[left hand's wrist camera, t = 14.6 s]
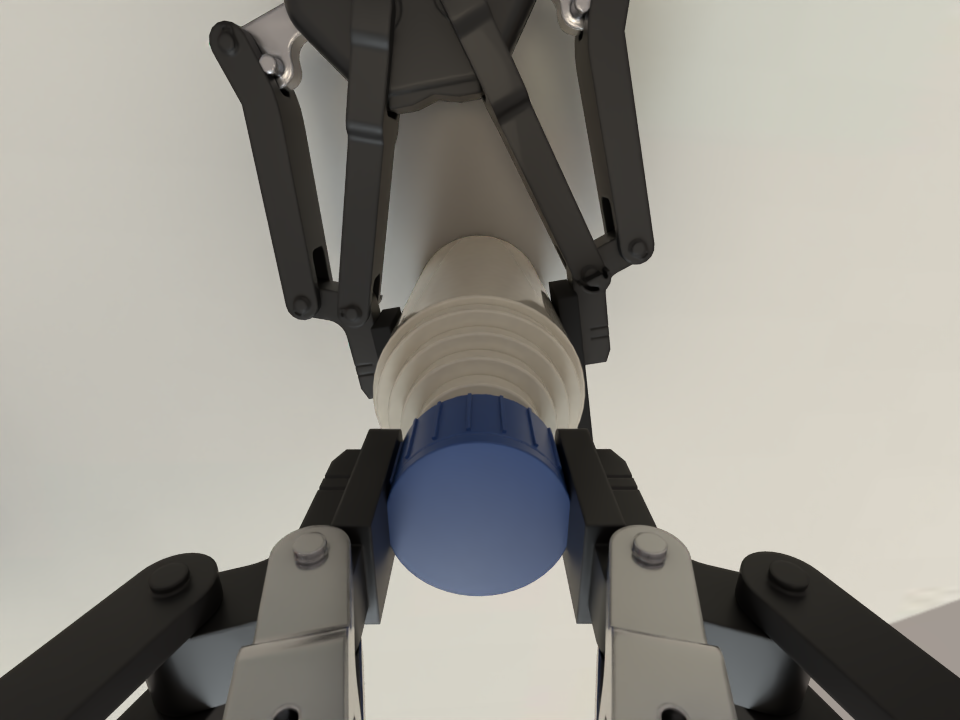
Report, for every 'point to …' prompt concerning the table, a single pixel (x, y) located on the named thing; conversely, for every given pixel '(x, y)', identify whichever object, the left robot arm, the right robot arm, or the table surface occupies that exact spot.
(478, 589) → the cap
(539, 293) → the bottle
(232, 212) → the table surface
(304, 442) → the table surface
